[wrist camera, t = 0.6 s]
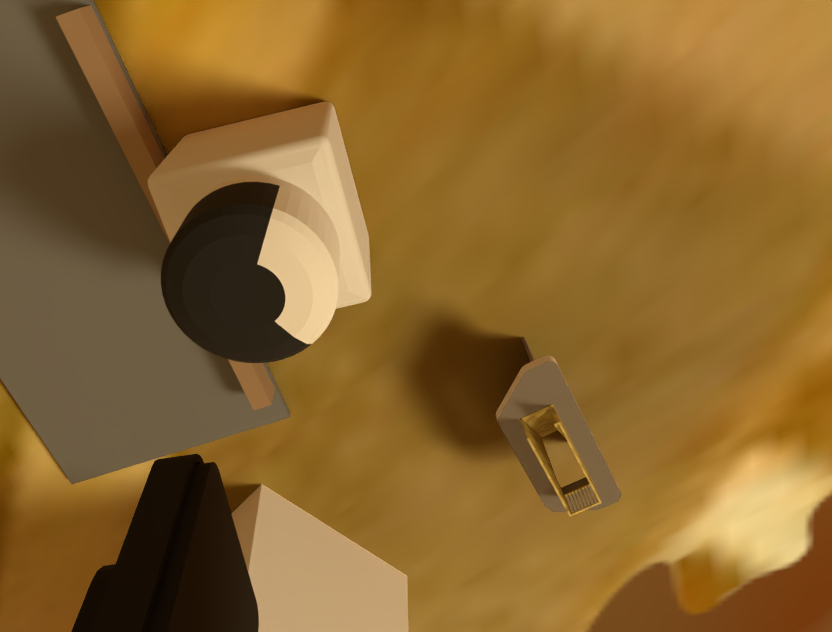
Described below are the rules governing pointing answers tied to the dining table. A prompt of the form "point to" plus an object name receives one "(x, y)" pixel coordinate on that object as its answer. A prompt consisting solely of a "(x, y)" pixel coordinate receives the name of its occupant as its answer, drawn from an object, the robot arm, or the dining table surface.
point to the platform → (534, 418)
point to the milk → (314, 573)
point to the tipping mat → (96, 261)
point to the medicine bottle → (261, 233)
